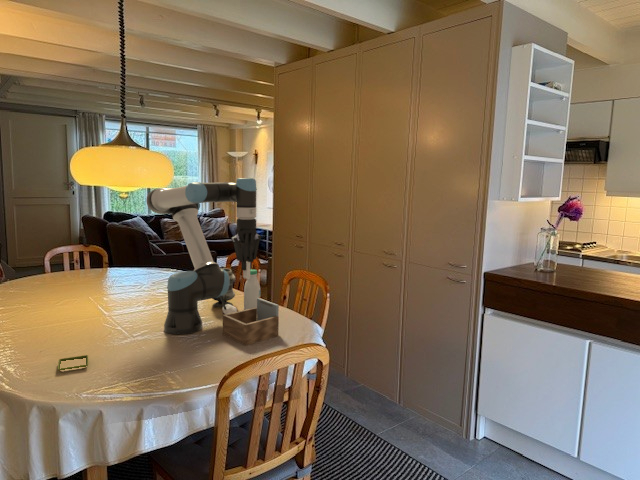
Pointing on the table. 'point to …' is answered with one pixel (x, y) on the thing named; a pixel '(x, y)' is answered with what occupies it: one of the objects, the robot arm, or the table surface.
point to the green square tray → (73, 359)
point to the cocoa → (228, 307)
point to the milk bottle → (251, 291)
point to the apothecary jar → (230, 292)
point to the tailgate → (266, 309)
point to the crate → (249, 326)
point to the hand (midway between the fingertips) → (246, 278)
